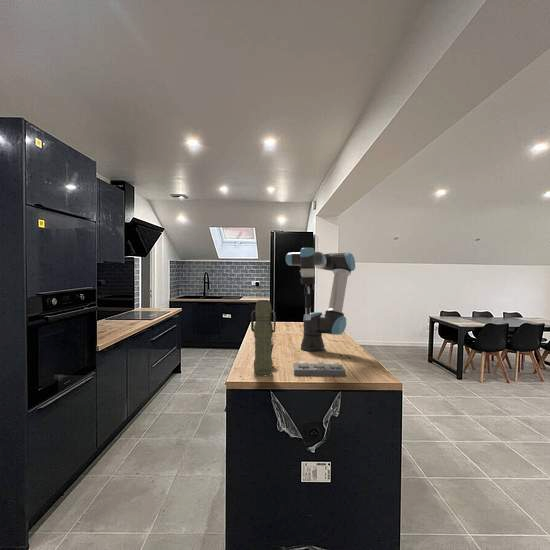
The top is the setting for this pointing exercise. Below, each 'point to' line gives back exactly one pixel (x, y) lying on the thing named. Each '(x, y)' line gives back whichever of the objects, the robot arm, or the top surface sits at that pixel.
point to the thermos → (263, 337)
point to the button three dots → (319, 364)
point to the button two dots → (303, 364)
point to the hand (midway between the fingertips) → (308, 319)
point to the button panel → (319, 370)
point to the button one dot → (334, 364)
